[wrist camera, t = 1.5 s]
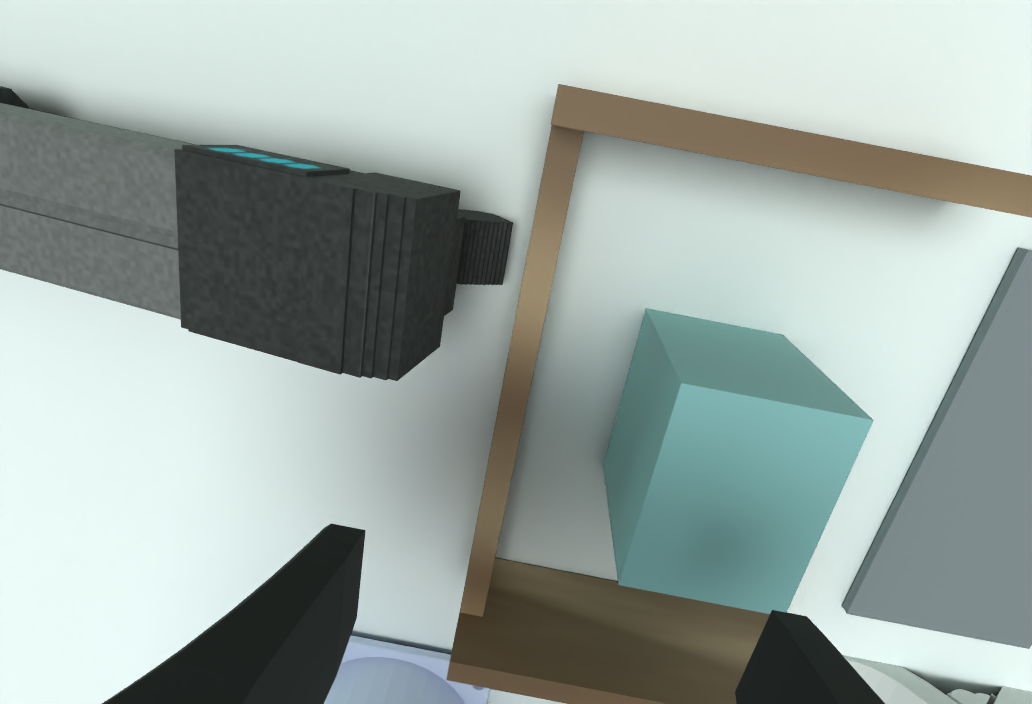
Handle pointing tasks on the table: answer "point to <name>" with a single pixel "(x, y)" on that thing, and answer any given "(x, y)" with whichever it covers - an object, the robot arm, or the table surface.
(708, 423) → the block
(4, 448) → the table surface
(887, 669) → the crown molding
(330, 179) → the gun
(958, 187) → the frame
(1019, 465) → the mat
